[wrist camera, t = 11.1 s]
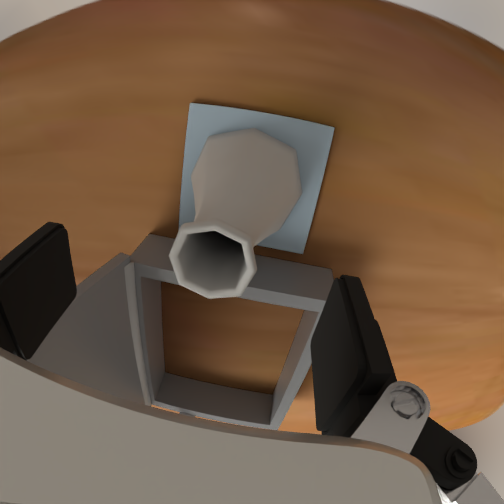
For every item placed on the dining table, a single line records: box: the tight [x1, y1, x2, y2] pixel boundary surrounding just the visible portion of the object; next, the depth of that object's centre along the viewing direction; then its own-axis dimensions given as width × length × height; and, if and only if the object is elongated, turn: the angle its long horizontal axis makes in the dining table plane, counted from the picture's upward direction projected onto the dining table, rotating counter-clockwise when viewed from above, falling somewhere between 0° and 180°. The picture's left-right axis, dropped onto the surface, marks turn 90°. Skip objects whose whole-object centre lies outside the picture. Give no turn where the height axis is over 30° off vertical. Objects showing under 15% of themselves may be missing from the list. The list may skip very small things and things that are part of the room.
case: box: [124, 234, 334, 430], centre depth 25 cm, size 15×18×5 cm
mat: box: [179, 103, 335, 254], centre depth 20 cm, size 9×9×1 cm
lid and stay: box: [27, 253, 195, 417], centre depth 18 cm, size 9×19×15 cm, turn 171°
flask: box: [169, 128, 302, 299], centre depth 15 cm, size 7×7×10 cm
